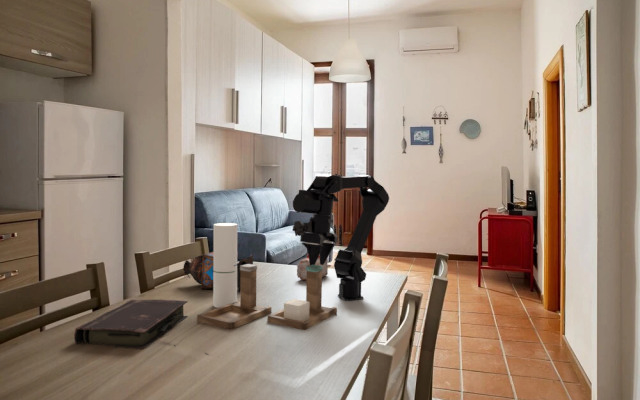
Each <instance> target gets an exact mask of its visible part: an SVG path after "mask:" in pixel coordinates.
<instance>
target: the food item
mask: <svg viewBox="0 0 640 400" xmlns="http://www.w3.org/2000/svg"><path fill="white" fill-rule="evenodd" d="M315 265H319V266H323V269H322V278H324V277H325V276H328V275H329V273H328V272H329V271H328V270H329V269H328V268H329V267H328V259H327V260H326V261H325V263H324V265H320V254H319V257H318V259H317V261H316V264H315ZM307 266H310V262H309V256H308V252H307V254H306V257H305V258H303V259H301V260H300V261H299V262H298V264H297V265H296V267H297V268H296V276H297V278H298V279H300V280H302V281H305V282H307V271H306V267H307Z"/></svg>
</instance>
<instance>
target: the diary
mask: <svg viewBox="0 0 640 400" xmlns="http://www.w3.org/2000/svg"><path fill="white" fill-rule="evenodd" d="M187 303H189V301H188V300H175V299H174V300H173V299H130V300H128V301H127V302H125V303H123V304H121V305H120V306H118V307H116V308H114V309H112V310H110V311H107V312H105V313H103V314H101V315H100V316H97V317H96V318H95V319H93V320H90V321H89V322H86V323H84V324H82V325H80V326H77V327H75V329H74V333H73V335H74V337H73V338H74V344H75V345H78V344H81V343H82V342H84V343H85V344H93V345H103V344H104V345H106V346H113V347H114V348H124V349H125V348H126V349H134V350H135V349H137V350H139V349H141V350H142V349H145V348H147V347H148V346H151V344H154V342H156V341H157V340H158V339H160V338H161V337H163V336H164V335H165V334H166V333H168V332H169V331H171V330H172V329H173V328H174V327H176V325H177V324H179V323H181V322H182V321H185V319H187V318H188V317H189V316H188V315H184V305H185V304H187Z"/></svg>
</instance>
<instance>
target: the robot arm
mask: <svg viewBox="0 0 640 400" xmlns="http://www.w3.org/2000/svg"><path fill="white" fill-rule="evenodd" d="M356 188H359V195H360V196H361V197H362V201H361V204H362V205H361V206H362V212H361V214H360V217H359V219H358V222H357V224H356V226H355V229H354V231H353V233H352V236H351V237H350V239H349V242H348V245H347V247H345V249H341V248H340V249H339V250H338V251H337V254H336V257H335V258H334V263H333V268H334V271H335V274H336V275H335V276H336V278H337V279H339V280H340V283H339V284H338V294H337V296H338V297H339V298H341V299H343V300H345V301H353V300H356V301H357V300H361V299H362V300H363V299H364V296H362V282H364V281H366V277H367V273H366V271H365V270H364V269H363V267H362V264H363V258H362V252H363V249H364V248H365V244H366V242H367V240H368V238H369V236H370V233H371V230H372V228H373V225H374V223H375V221H376V219H377V216H378V215H380V214H381V213H382V212H383V211H384V210H385V209H386V207H387V205H388V204H389V201H390V196H389V193H388V192H387V190H386V188H385V187H384V186H383V185H381V184H380V183H379V182H378V181H376V180H375V178H374V177H373V176H371V175H369V174H367V175H366V174H360V175H353V176H351V175H349V176H342V175H336V174H316V176H315V177H314V180H313V181H312V182H311V184H310V185H309V186H308V188H307V189H299V190H298V193H297V194H296V195H295V196H294V197H293V199H292V207H293V210H294V211H295V213H299V214H300V213H301V214H307V215H310V214H311V215H312V217H310V218H309V220H308V221H309V222H304V223H303V222H302V220H296V221H294V222H293V225H292V231H293V232H294V235H295V237H297V236H298V237H300V240H299V241H300V242H301V245H303V246H304V247H305V248H306V250H307V253H308V256H309V262H310V265H315V264H316V261H317V259H318V257H319V255H320V265H324V263H325V261H326V260H328V257H329V256H330V254H331V253H332V251H333V249H334V248H335V246H336V245H337V244H336V243H338V239H339V238H338V237H339V236H338V235H337V233H333V232H331V227H332V226H331V225H332V224H333V223H334V219H333V217H332V216H333V209H334V208H333V207H334V202H336V203H338V202H339V199H338V197H336V195H335V194H337V193H339V192H341V191H342V190H344V189H356Z"/></svg>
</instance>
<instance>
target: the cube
mask: <svg viewBox="0 0 640 400" xmlns="http://www.w3.org/2000/svg"><path fill="white" fill-rule="evenodd" d="M309 303H310V302H308V301H306V300H302V299H298V298H297V299H296V298H292V299H291V300H289V301H286V302H284V303H283V309H284V318H288V319H293V320H298V321H302V322H304V321H306V320H308V319H309Z"/></svg>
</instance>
